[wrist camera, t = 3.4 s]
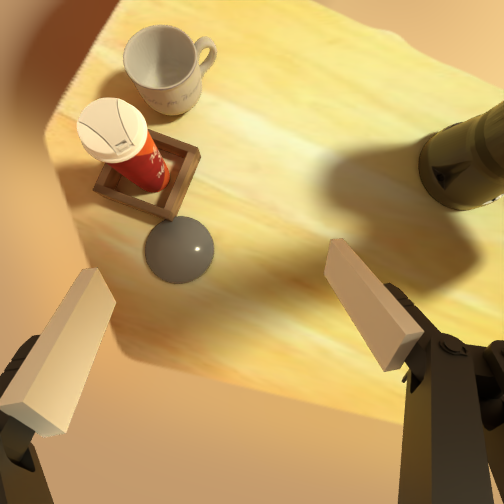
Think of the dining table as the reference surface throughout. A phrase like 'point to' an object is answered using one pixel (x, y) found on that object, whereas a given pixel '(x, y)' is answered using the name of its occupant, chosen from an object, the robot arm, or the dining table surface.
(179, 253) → the grey smooth round part
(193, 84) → the teacup
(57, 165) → the dining table surface
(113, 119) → the paper cup
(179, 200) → the collar
